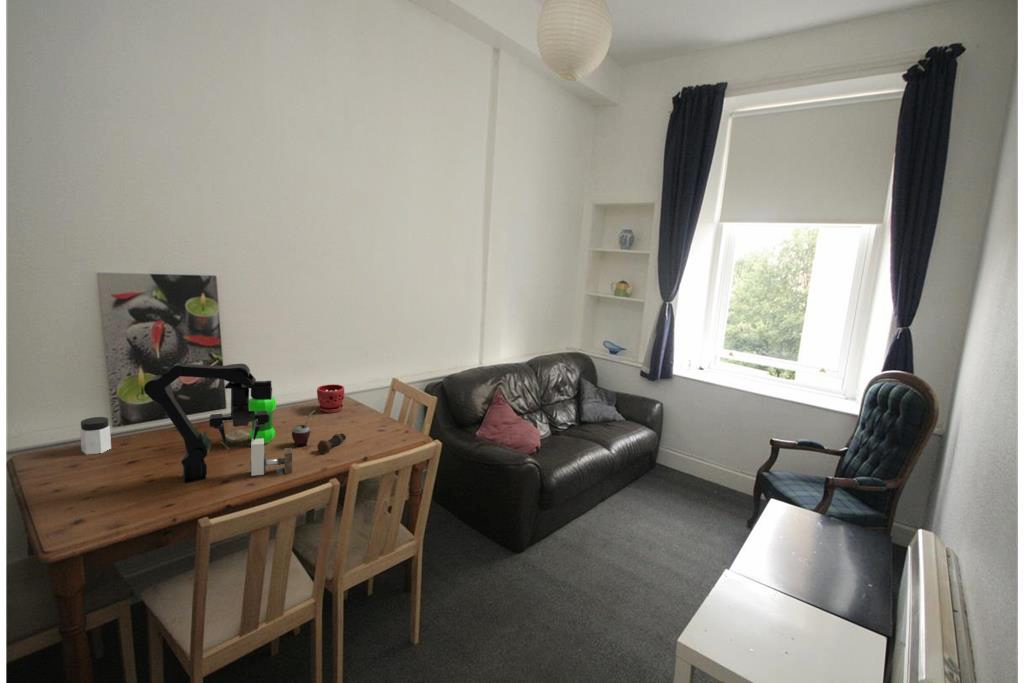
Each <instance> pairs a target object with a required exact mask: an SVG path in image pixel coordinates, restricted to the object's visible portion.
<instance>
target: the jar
mask: <svg viewBox="0 0 1024 683" xmlns="http://www.w3.org/2000/svg"><path fill="white" fill-rule="evenodd" d="M109 423H110V422H109V418H107V417H105V416H93V417H89V418H86V419H82V420H81V421H80V428H79V431H80V445H81V447H80V448H81V452H82V453H84V455H88V456H89V455H98V454H99V453H101V454H103V453H106V452H107V450H108V451H109V449H110V450H111V449H112V441H111V440H112V439H111V426H110V425H109Z"/></svg>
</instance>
